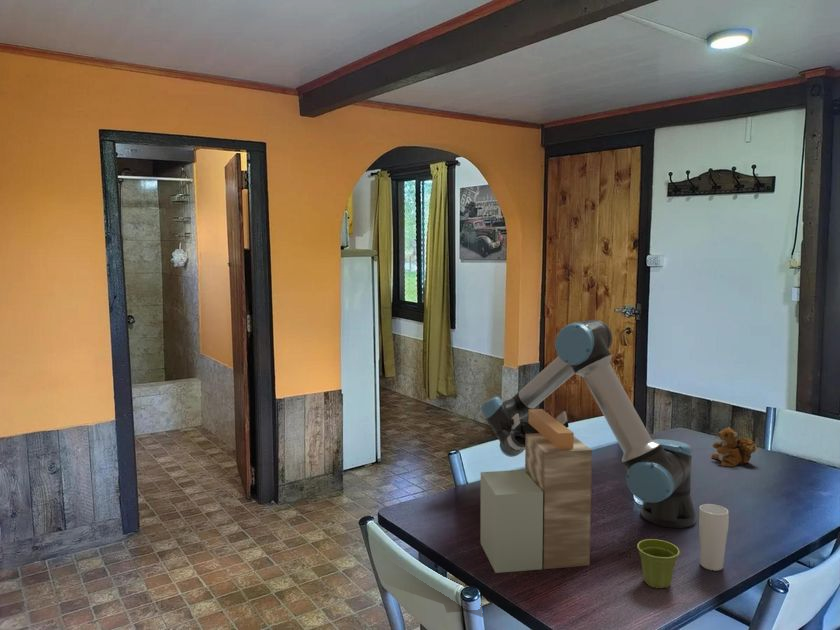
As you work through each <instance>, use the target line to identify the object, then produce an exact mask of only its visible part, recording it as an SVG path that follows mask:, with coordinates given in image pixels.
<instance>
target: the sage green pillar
mask: <svg viewBox="0 0 840 630" xmlns="http://www.w3.org/2000/svg"><path fill="white" fill-rule="evenodd" d="M480 545H481V548H482V549H483V551H484V553H485V555H486V557H487V559H488V560H489V563H490V565H491V567H492V569H493V570H494V573H495V574H497V573H498V574H501V573H511V572H523V571H535V570H537V571H538V570H543V567H542V546H543V491H542V490H541V489H540V488H539V487H538V486H537V484H536V483H535V482H534V481H533V480H532V479H531V478H530V476H529V475H528V474H527V473H526V472H525V469H515V470H514V469H512V470H499V471H498V470H496V471H481V472H480Z"/></svg>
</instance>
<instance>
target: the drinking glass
mask: <svg viewBox="0 0 840 630" xmlns="http://www.w3.org/2000/svg"><path fill="white" fill-rule="evenodd" d="M729 513H730V512H729V510H728V508H726V507H724V506H722V505H718V504H713V503H704V504H701V505H700V506H699V507H698V537H699V564H700V565H701V567H703V568H704V569H706V570H707V571H712V570H713V571H715V572H717V571H722V569H723V568H724V562H725V554H726V553H725V552H726V546H727V538H728V532H729V524H730V523H729V520H730V519H729V517H730V515H729Z"/></svg>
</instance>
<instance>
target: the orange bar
mask: <svg viewBox="0 0 840 630" xmlns="http://www.w3.org/2000/svg"><path fill="white" fill-rule="evenodd" d="M527 420H528V423H529V424H530V425H531V426H532V427H533V428H535V429H536V430H537V431H538V432H539V433H540V434H541V435H543V436H544V437H545V438H546V439H547V440H548V441H549V442H550V443H552V444H553V445H554V446H555V447H556V448H557V449H570V448H573V440H574V437H575V435H574V432H573V431H572V430H570V429H569V427H565V426H564V425H563V424H561V423H560V422H559V421H557V420H556V418H555V417H553V416H552V415H551V414H549V413H548V412H547V411H545V409H543V408H534V409H529V415H528V419H527Z"/></svg>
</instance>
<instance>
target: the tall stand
mask: <svg viewBox="0 0 840 630" xmlns="http://www.w3.org/2000/svg"><path fill="white" fill-rule="evenodd" d="M524 451H525V453H524V454H525V457H524V459H525V460H524V462H525V463H524V466H525V467H524V471H525V472H526V473H527V474H528V475H529V476H530V478H531V479H532V480H533V481H534V482H535V483H536V484H537V486H538V487H539V488H540V489H541V490H542V491H543V546H542V570H548V569H561V568H563V569H564V568H573V567H586V566H588V567H589V566H590V563H591V562H590V557H591V554H590V553H591V513H592V512H591V511H592V510H591V509H592V504H591V503H592V466H593V465H592V461H593V457H592V456H593V452H592V451H593V450H592V448H590V447H589V446H587V445H586V444H585V443H584V442H582V441H581V440H579V439H578V438H577V437H576V436H574V440H573V448H570V449H557V448H556V447H555V446H554V445H553V444H552V443H550V442H549V441H548V440H547V439H546V438H545V437H544V436H543V435H541V434H540V433H532V434H526V436H525V450H524Z"/></svg>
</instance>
